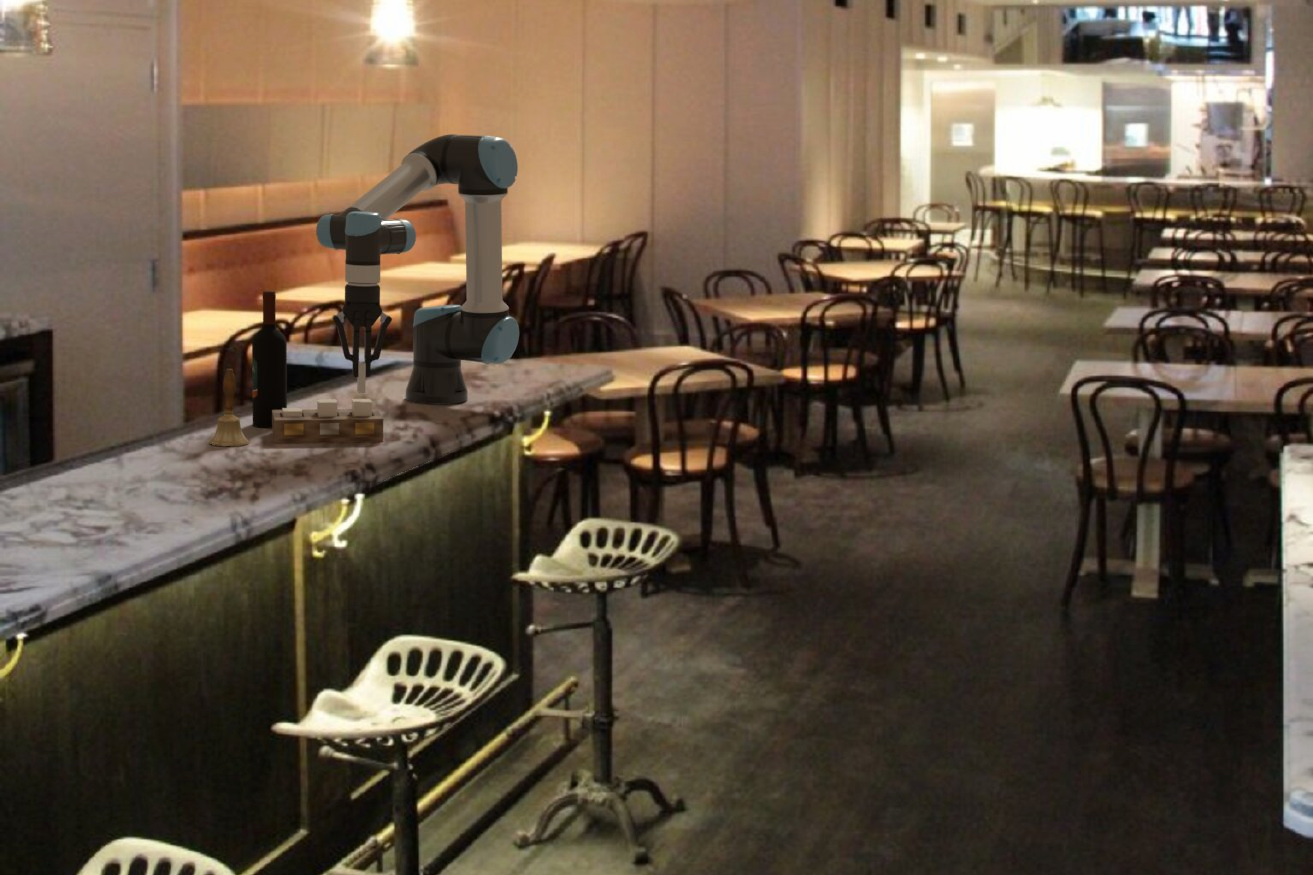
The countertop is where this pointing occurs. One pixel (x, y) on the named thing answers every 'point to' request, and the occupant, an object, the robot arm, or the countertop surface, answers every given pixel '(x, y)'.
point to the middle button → (326, 407)
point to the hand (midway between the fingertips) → (361, 391)
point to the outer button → (291, 412)
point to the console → (327, 427)
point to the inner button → (361, 407)
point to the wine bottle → (268, 366)
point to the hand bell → (229, 418)
